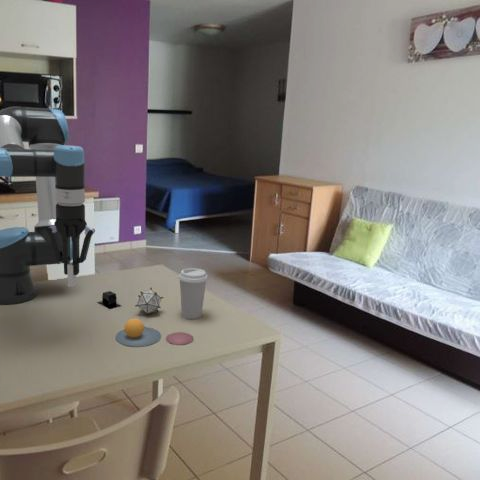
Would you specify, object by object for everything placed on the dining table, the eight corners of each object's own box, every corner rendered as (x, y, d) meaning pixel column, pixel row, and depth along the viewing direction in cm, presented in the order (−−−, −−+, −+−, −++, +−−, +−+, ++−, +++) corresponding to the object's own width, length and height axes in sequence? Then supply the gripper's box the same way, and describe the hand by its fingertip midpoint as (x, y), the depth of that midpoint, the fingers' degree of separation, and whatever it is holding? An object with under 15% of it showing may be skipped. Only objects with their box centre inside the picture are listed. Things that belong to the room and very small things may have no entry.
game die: (147, 321, 159) (151, 292, 163) (166, 318, 155) (170, 289, 159) (127, 314, 153) (132, 284, 157) (146, 311, 148) (151, 281, 152)
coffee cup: (199, 308, 163) (201, 266, 160) (210, 318, 155) (212, 275, 152) (173, 311, 159) (174, 268, 156) (183, 322, 151) (184, 277, 147)
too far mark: (164, 344, 136) (164, 343, 136) (167, 332, 143) (167, 331, 143) (192, 345, 136) (192, 345, 136) (194, 333, 144) (194, 333, 144)
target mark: (110, 345, 133) (110, 344, 133) (121, 326, 145) (121, 325, 145) (157, 348, 133) (157, 347, 133) (163, 328, 146) (163, 327, 146)
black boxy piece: (128, 308, 161) (128, 296, 160) (109, 314, 155) (109, 301, 154) (108, 298, 169) (108, 286, 168) (89, 303, 163) (89, 290, 162)
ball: (118, 328, 135) (135, 320, 135) (123, 320, 141) (139, 312, 140) (128, 344, 137) (145, 336, 136) (132, 335, 142) (148, 327, 141)
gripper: (40, 204, 126) (43, 288, 132) (90, 207, 126) (91, 291, 132) (51, 199, 133) (53, 279, 139) (98, 202, 133) (98, 282, 139)
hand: (71, 285), depth 135 cm, fingers closed
